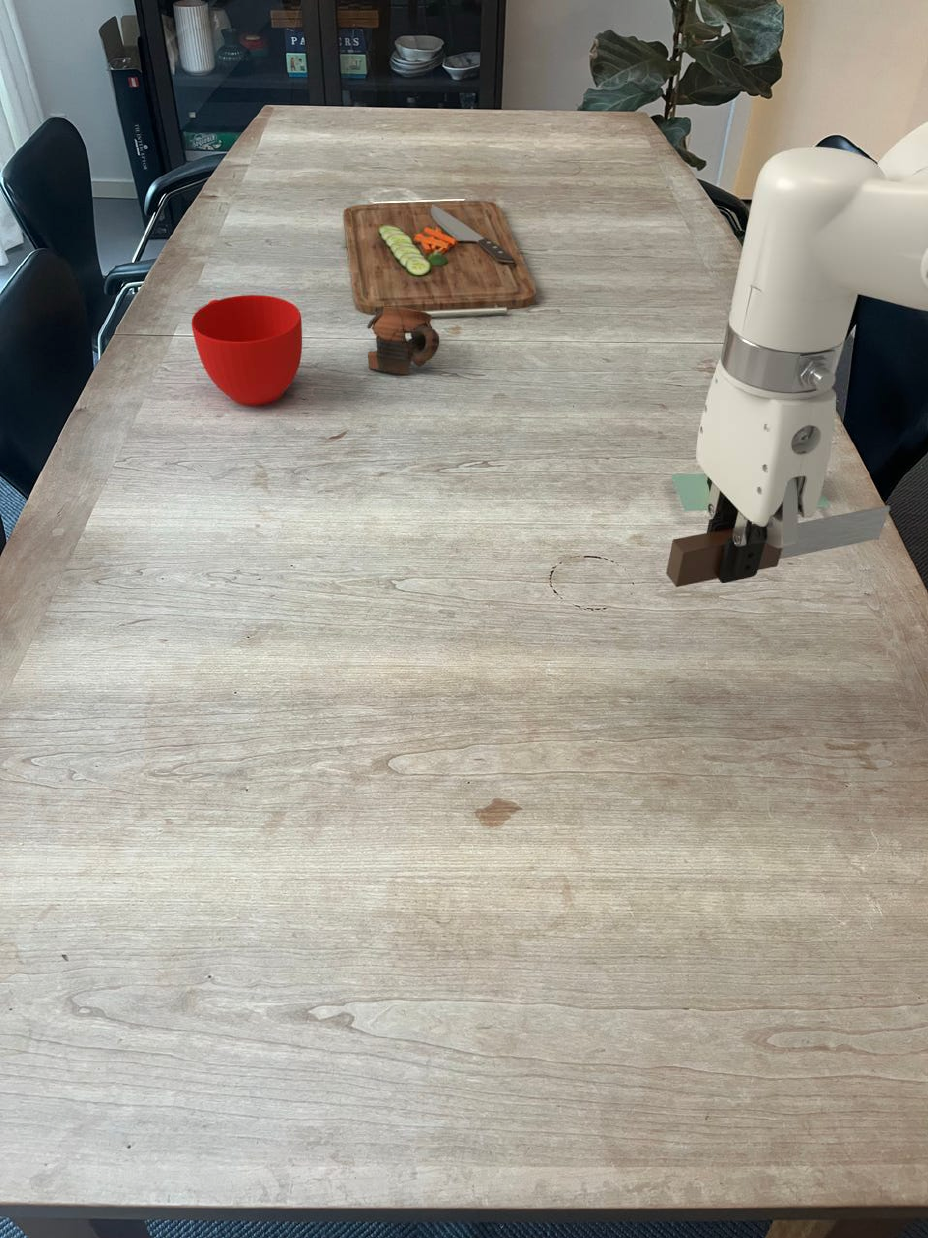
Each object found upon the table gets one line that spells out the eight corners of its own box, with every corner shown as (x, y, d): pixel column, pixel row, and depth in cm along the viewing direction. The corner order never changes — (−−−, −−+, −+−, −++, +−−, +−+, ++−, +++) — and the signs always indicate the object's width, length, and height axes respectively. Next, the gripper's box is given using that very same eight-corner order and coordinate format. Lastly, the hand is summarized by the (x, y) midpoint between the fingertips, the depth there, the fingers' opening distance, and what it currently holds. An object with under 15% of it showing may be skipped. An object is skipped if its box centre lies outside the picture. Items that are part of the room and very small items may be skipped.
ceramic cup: (263, 347, 135) (254, 275, 129) (327, 398, 125) (321, 323, 118) (174, 373, 129) (159, 300, 123) (233, 430, 119) (221, 353, 113)
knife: (884, 544, 82) (897, 510, 79) (676, 587, 77) (683, 552, 75) (871, 531, 83) (883, 497, 81) (665, 573, 78) (672, 538, 76)
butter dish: (807, 477, 113) (809, 470, 113) (828, 514, 108) (830, 506, 108) (668, 481, 113) (670, 473, 112) (682, 518, 107) (684, 510, 107)
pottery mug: (348, 367, 132) (355, 302, 131) (398, 375, 139) (405, 314, 138) (412, 374, 125) (420, 306, 123) (462, 382, 132) (470, 318, 130)
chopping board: (342, 207, 174) (340, 189, 172) (493, 202, 177) (494, 184, 175) (356, 322, 141) (355, 301, 139) (543, 313, 144) (544, 293, 142)
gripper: (901, 401, 62) (826, 622, 74) (766, 297, 73) (720, 504, 85) (796, 420, 60) (737, 643, 72) (674, 310, 71) (640, 519, 84)
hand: (728, 566), depth 79 cm, fingers closed on knife, 1 cm apart
